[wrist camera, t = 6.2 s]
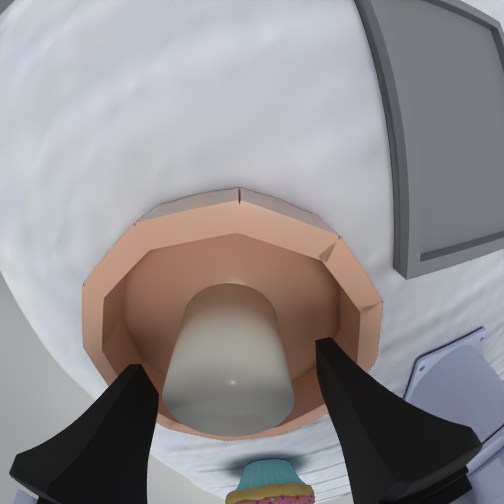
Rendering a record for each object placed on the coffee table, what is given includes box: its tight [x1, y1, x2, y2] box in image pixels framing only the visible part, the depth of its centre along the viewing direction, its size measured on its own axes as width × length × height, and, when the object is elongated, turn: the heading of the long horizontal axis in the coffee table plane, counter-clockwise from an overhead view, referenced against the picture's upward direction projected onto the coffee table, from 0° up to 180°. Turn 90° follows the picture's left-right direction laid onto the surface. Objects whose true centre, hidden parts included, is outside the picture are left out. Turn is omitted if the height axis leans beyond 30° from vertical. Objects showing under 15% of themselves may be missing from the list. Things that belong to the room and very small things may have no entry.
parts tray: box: [355, 0, 504, 280], centre depth 10 cm, size 16×12×1 cm
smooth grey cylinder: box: [162, 283, 294, 437], centre depth 11 cm, size 5×5×5 cm
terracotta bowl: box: [82, 188, 383, 441], centre depth 12 cm, size 13×13×4 cm
